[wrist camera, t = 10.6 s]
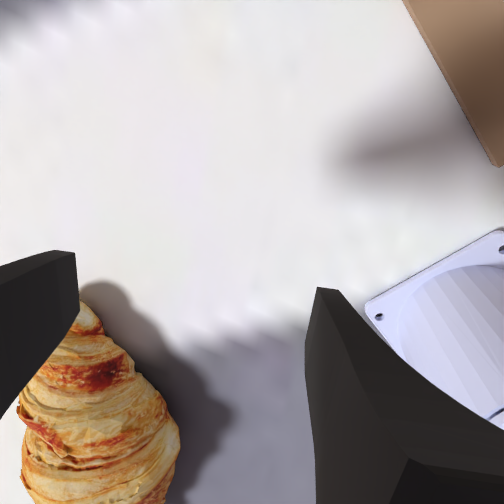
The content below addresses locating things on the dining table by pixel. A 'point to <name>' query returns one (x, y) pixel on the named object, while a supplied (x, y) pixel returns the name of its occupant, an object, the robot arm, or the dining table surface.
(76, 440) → the croissant
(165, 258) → the dining table surface
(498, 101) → the board
